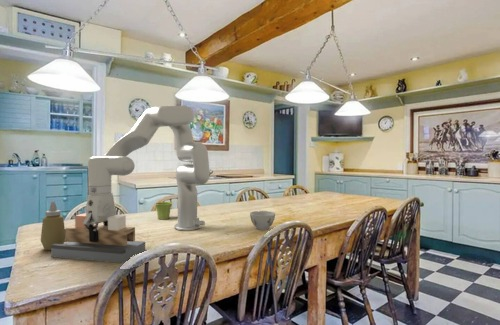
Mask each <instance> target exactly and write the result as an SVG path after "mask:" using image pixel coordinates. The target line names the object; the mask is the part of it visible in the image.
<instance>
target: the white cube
mask: <svg viewBox="0 0 500 325" xmlns="http://www.w3.org/2000/svg"><path fill="white" fill-rule="evenodd" d="M126 217H127V216H126V214H124V215H123V214H115V215H114V216H111V217H108V230H117V231H118V230H121V229H123V228H125V227H127V225H126V222H127V221H126V219H127V218H126Z"/></svg>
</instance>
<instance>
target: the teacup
mask: <svg viewBox="0 0 500 325" xmlns="http://www.w3.org/2000/svg"><path fill="white" fill-rule="evenodd" d="M249 217H250V220H251V223H252V225H253V226H254V228H256V230H258V231H266V230H269V228H271V226H272V225H273V224H274V221H275V218H276V213H275V212H273V211H267V210H260V211H258V210H257V211H256V210H254V211H251V212H250V213H249Z"/></svg>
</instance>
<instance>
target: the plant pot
mask: <svg viewBox="0 0 500 325" xmlns="http://www.w3.org/2000/svg"><path fill="white" fill-rule="evenodd" d="M154 205H155V207H156V208H155V209H156V212H157V220H168V219H169V218H170V213H171V208H172V205H173V202H169V201H161V202H155V203H154Z"/></svg>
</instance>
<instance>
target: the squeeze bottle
mask: <svg viewBox="0 0 500 325" xmlns="http://www.w3.org/2000/svg"><path fill="white" fill-rule="evenodd" d="M41 225H42V226H41V234H40V243H41V244H42V248H43V249H44V250H45V251H51V245H52V244H64V243H65V242H66V241H65V238H66V234H65V229H66V227H65V219H64V216H63V215H61V210H60V209H58V208H57V204H56V202H55V201H51V202H50V206H49V210H47V211H45V216H44V217H43V218H42V224H41Z"/></svg>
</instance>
